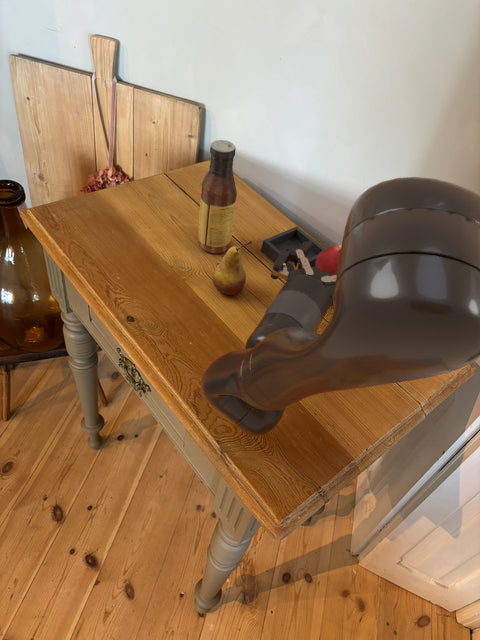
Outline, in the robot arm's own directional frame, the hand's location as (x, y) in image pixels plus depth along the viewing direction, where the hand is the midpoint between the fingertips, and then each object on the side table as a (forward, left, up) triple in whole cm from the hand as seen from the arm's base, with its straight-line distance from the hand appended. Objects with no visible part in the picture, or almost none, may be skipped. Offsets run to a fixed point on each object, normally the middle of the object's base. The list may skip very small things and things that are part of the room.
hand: (333, 255), depth 77 cm
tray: (+4, -5, -9) cm, 10 cm away
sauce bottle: (+22, 0, -9) cm, 24 cm away
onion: (0, -3, -8) cm, 9 cm away
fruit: (+14, +9, -9) cm, 19 cm away
